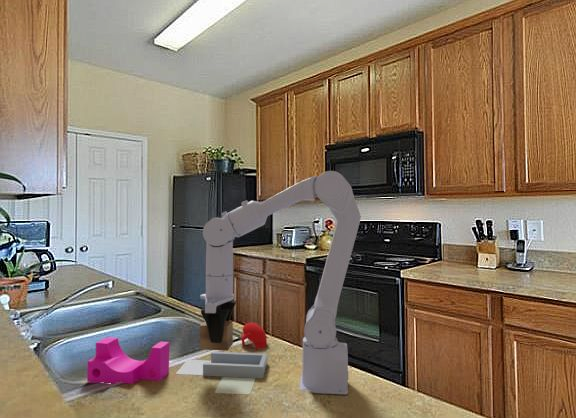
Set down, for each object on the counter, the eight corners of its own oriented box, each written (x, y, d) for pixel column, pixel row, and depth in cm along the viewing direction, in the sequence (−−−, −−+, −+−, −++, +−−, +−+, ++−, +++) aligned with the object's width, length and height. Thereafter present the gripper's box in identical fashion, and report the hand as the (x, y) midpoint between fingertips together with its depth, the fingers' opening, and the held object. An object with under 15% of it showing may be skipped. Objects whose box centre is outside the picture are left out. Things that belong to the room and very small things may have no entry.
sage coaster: (255, 381, 81) (255, 378, 81) (249, 397, 74) (249, 394, 74) (222, 379, 82) (222, 377, 82) (214, 395, 75) (214, 392, 75)
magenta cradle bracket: (87, 382, 80) (87, 346, 80) (106, 370, 86) (107, 337, 86) (153, 389, 77) (154, 352, 77) (168, 376, 83) (169, 342, 83)
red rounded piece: (232, 333, 102) (242, 326, 98) (248, 321, 107) (258, 314, 102) (249, 359, 101) (259, 353, 97) (265, 346, 105) (275, 340, 101)
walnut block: (232, 344, 83) (232, 321, 83) (227, 350, 79) (227, 326, 80) (206, 343, 84) (206, 320, 84) (199, 349, 80) (199, 325, 80)
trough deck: (267, 365, 90) (267, 353, 90) (262, 380, 82) (262, 367, 82) (187, 362, 91) (187, 350, 91) (175, 376, 83) (175, 363, 83)
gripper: (210, 269, 89) (210, 327, 89) (189, 280, 75) (189, 350, 75) (240, 269, 89) (240, 328, 89) (225, 281, 74) (225, 351, 74)
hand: (219, 338), depth 82 cm, fingers closed on walnut block, 4 cm apart
